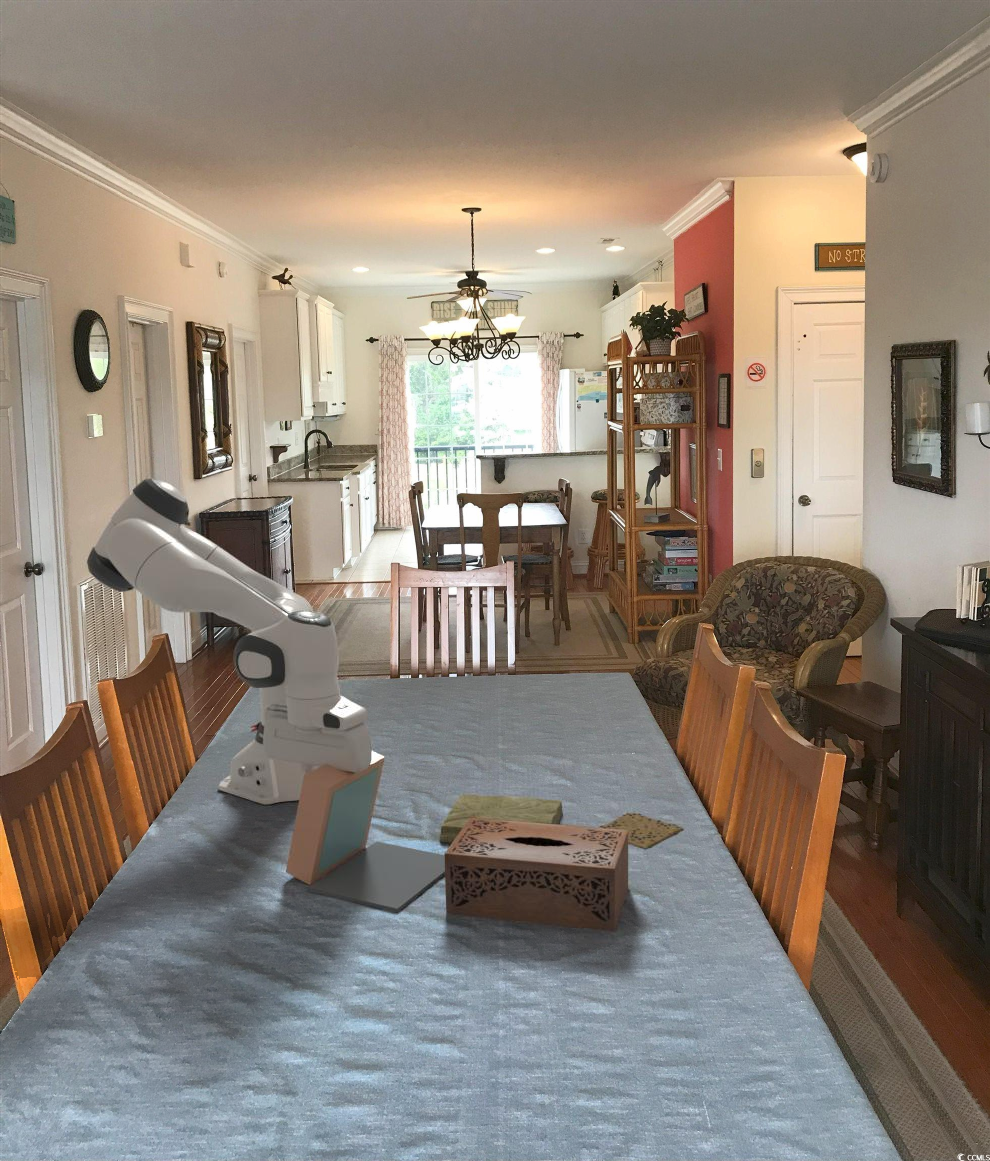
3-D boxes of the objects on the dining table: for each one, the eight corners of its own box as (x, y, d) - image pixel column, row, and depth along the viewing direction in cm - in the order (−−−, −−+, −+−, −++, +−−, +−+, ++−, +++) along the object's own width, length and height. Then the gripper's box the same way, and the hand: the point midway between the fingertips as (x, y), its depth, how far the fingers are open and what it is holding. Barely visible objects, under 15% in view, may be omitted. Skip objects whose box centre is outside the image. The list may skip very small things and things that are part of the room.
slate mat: (307, 891, 174) (307, 887, 174) (376, 844, 191) (376, 841, 191) (397, 912, 166) (397, 908, 166) (461, 861, 184) (461, 858, 183)
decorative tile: (459, 807, 209) (459, 790, 208) (563, 814, 205) (563, 796, 204) (434, 847, 191) (434, 828, 190) (547, 855, 187) (547, 835, 186)
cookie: (590, 834, 195) (590, 828, 195) (631, 814, 204) (631, 809, 204) (645, 852, 187) (645, 846, 187) (685, 831, 196) (685, 826, 195)
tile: (285, 872, 178) (304, 775, 173) (342, 836, 192) (360, 745, 187) (311, 886, 176) (330, 788, 171) (366, 848, 190) (386, 757, 185)
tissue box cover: (446, 915, 165) (444, 853, 164) (472, 874, 179) (470, 817, 178) (614, 933, 159) (614, 869, 157) (628, 889, 173) (628, 830, 171)
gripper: (252, 707, 182) (257, 786, 184) (353, 721, 172) (356, 805, 175) (276, 697, 187) (280, 774, 190) (375, 711, 178) (378, 792, 180)
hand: (318, 789), depth 182 cm, fingers closed
